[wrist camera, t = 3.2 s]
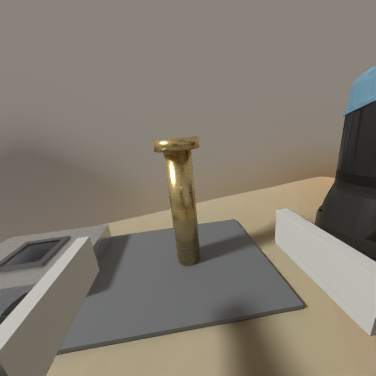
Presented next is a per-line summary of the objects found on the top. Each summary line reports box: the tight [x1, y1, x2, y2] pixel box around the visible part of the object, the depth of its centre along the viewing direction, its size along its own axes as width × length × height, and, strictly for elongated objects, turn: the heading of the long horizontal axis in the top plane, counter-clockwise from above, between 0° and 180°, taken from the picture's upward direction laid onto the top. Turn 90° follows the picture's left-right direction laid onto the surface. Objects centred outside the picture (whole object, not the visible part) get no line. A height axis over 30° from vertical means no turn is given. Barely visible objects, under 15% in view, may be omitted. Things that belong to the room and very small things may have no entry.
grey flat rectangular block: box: [0, 225, 112, 312], centre depth 24 cm, size 16×12×3 cm
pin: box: [153, 136, 201, 266], centre depth 22 cm, size 5×5×16 cm
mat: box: [0, 219, 304, 354], centre depth 24 cm, size 39×18×1 cm, turn 96°
